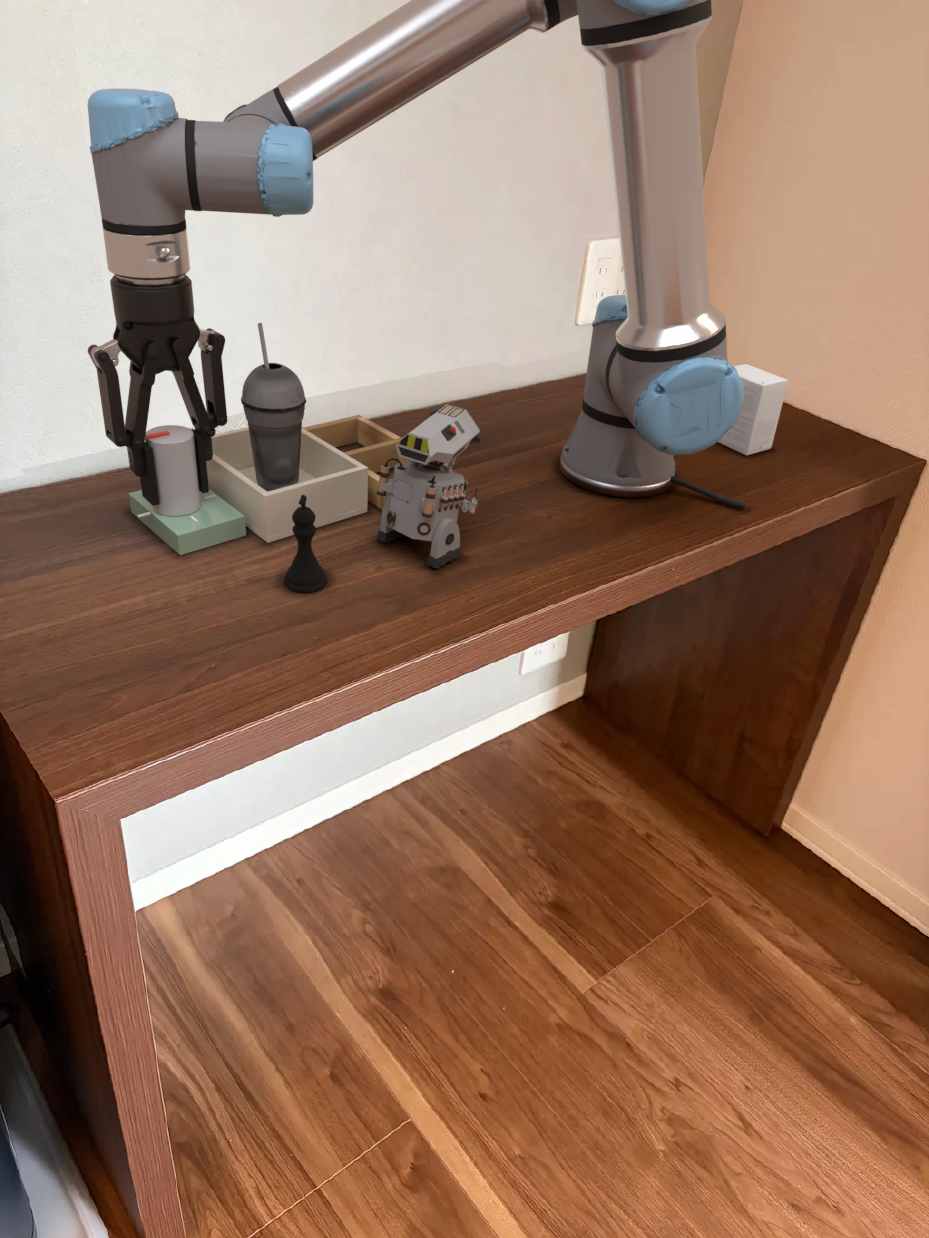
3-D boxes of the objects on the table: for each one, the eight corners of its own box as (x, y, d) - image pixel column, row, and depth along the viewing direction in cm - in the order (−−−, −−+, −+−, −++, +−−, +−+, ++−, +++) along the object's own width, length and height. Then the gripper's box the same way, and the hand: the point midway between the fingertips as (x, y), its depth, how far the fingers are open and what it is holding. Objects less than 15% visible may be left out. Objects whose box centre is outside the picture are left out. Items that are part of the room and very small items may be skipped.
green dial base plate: (246, 535, 102) (245, 514, 101) (166, 560, 97) (163, 538, 95) (195, 495, 110) (193, 475, 108) (117, 516, 104) (114, 494, 103)
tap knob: (188, 492, 105) (180, 419, 100) (208, 509, 102) (201, 434, 97) (146, 502, 102) (136, 427, 97) (165, 520, 99) (155, 444, 94)
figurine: (494, 542, 105) (506, 417, 97) (425, 576, 98) (432, 445, 89) (435, 514, 110) (442, 393, 102) (366, 545, 102) (367, 417, 94)
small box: (771, 450, 134) (790, 380, 128) (745, 456, 131) (764, 385, 126) (730, 430, 140) (746, 362, 134) (704, 436, 137) (720, 367, 131)
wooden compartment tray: (450, 490, 116) (451, 465, 114) (384, 511, 110) (385, 485, 108) (358, 438, 127) (359, 414, 125) (295, 454, 121) (294, 429, 119)
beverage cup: (296, 510, 107) (290, 338, 96) (237, 500, 108) (224, 329, 97) (317, 484, 113) (313, 320, 102) (261, 475, 114) (251, 311, 103)
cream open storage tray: (367, 512, 109) (368, 467, 106) (267, 543, 101) (264, 496, 98) (287, 460, 120) (286, 418, 117) (191, 485, 112) (187, 440, 109)
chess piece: (278, 589, 94) (273, 501, 88) (292, 568, 97) (288, 482, 92) (319, 596, 93) (318, 507, 88) (332, 574, 97) (331, 488, 91)
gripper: (69, 294, 81) (108, 528, 94) (254, 274, 91) (266, 488, 104) (40, 275, 85) (80, 500, 98) (219, 258, 95) (234, 464, 108)
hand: (176, 493), depth 101 cm, fingers closed on tap knob, 5 cm apart
